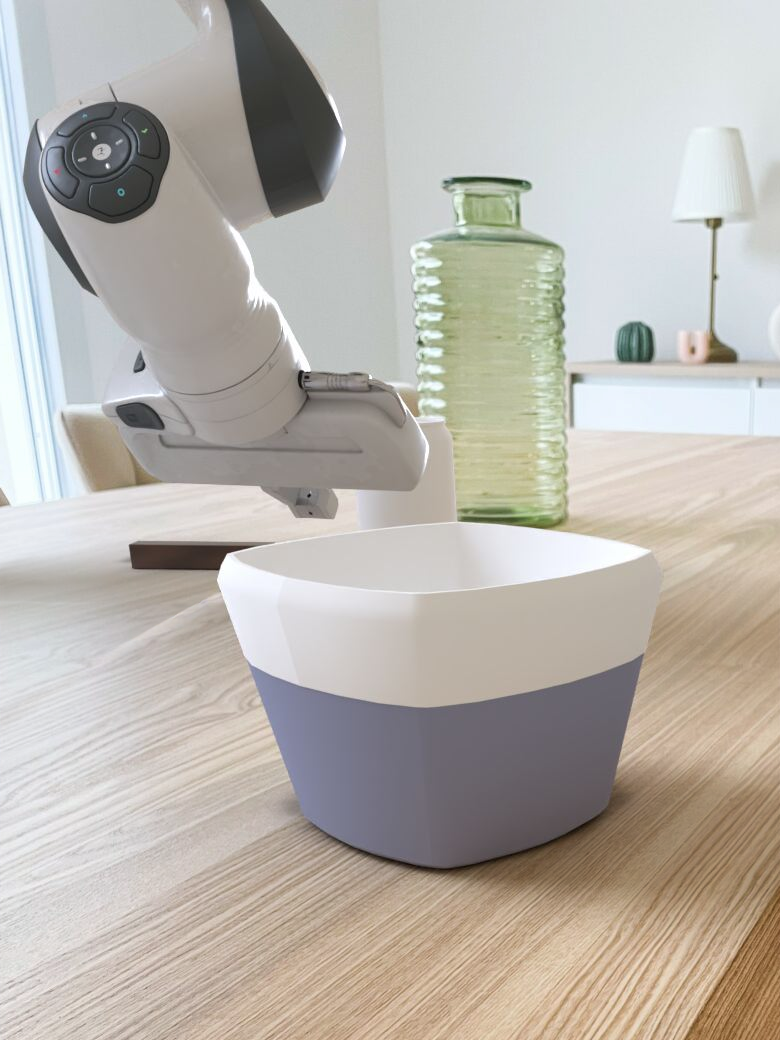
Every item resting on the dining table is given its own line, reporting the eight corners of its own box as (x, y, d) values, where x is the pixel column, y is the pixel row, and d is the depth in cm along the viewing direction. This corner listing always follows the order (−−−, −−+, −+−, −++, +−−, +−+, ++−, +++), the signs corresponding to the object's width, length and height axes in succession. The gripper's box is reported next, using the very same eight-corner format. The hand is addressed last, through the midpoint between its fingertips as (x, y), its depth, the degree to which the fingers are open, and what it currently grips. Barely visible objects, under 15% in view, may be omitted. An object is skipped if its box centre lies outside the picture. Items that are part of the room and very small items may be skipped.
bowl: (708, 810, 56) (713, 550, 52) (431, 922, 46) (409, 608, 42) (474, 738, 66) (462, 513, 62) (200, 818, 55) (162, 554, 51)
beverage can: (381, 583, 104) (369, 425, 99) (348, 567, 110) (335, 418, 106) (475, 574, 108) (467, 421, 103) (437, 559, 114) (429, 415, 109)
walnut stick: (131, 568, 110) (128, 544, 109) (141, 564, 112) (137, 540, 111) (271, 569, 109) (269, 545, 108) (279, 565, 111) (276, 542, 110)
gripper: (401, 335, 81) (462, 480, 94) (107, 332, 85) (204, 471, 98) (377, 416, 79) (444, 553, 91) (77, 409, 83) (180, 541, 95)
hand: (318, 511), depth 94 cm, fingers closed
